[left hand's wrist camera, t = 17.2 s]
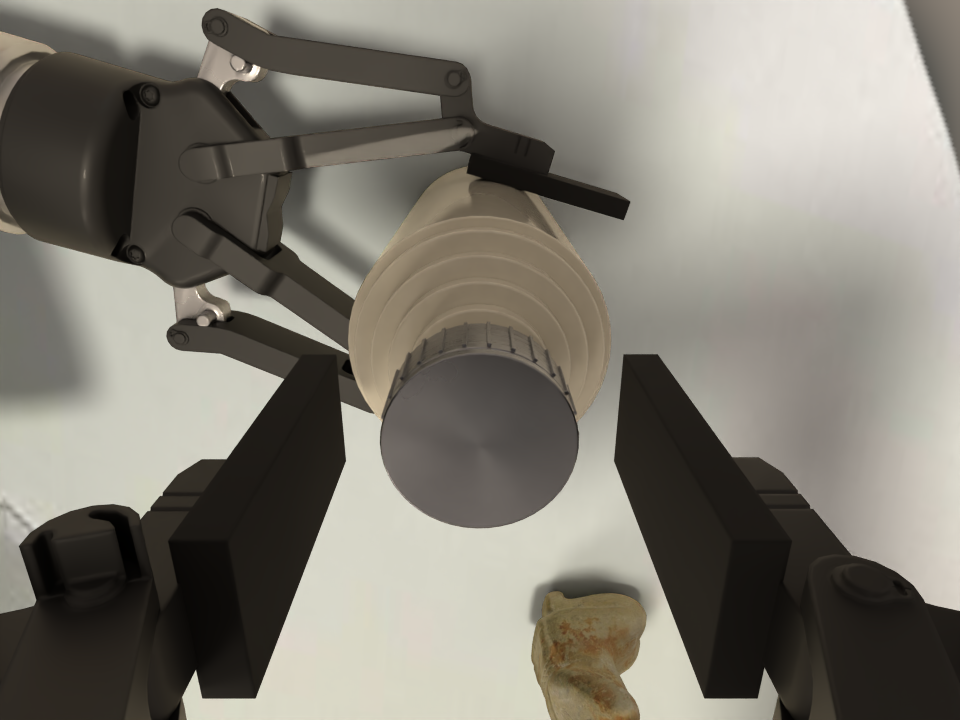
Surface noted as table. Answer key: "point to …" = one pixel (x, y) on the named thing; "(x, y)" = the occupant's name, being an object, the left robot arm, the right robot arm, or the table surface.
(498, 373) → the cap
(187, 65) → the table surface
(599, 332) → the bottle
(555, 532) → the table surface
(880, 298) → the table surface
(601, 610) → the sculpture
